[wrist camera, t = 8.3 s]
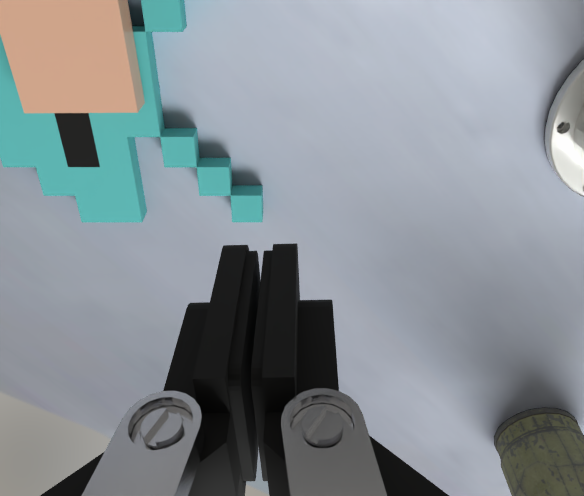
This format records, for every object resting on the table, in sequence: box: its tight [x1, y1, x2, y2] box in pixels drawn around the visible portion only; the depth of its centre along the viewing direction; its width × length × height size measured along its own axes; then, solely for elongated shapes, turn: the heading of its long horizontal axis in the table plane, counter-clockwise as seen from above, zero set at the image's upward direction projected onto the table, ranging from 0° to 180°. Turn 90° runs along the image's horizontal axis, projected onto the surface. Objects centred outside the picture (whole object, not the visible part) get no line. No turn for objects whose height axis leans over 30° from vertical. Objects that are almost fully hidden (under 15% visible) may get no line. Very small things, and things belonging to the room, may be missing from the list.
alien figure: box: [0, 0, 263, 222], centre depth 34 cm, size 20×2×20 cm
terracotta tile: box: [0, 0, 145, 113], centre depth 31 cm, size 2×7×8 cm
